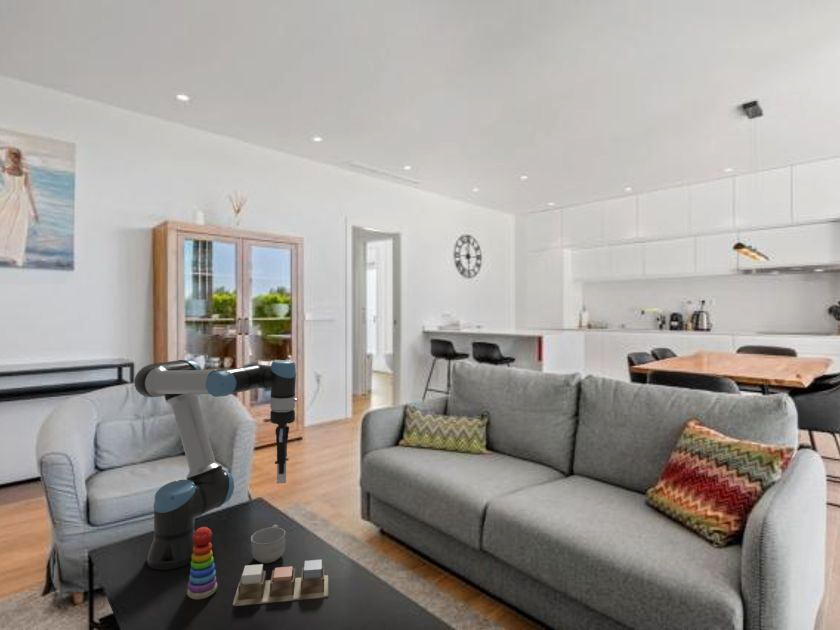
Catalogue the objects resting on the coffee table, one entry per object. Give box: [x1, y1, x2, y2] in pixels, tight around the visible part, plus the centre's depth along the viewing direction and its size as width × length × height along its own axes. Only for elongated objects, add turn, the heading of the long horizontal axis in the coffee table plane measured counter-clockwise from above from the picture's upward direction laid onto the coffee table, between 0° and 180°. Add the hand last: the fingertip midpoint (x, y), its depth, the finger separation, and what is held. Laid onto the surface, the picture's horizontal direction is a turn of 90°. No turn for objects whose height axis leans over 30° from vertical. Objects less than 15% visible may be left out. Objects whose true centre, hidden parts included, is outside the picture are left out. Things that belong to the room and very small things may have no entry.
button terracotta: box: [273, 565, 294, 582], centre depth 138 cm, size 5×5×4 cm
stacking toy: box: [186, 526, 218, 600], centre depth 136 cm, size 8×8×19 cm
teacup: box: [250, 524, 286, 564], centre depth 156 cm, size 14×11×8 cm
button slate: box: [303, 559, 323, 579], centre depth 140 cm, size 5×5×4 cm
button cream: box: [241, 563, 264, 585], centre depth 136 cm, size 5×5×4 cm
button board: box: [232, 565, 329, 607], centre depth 138 cm, size 26×10×4 cm, turn 101°
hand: (281, 482), depth 151 cm, fingers closed
